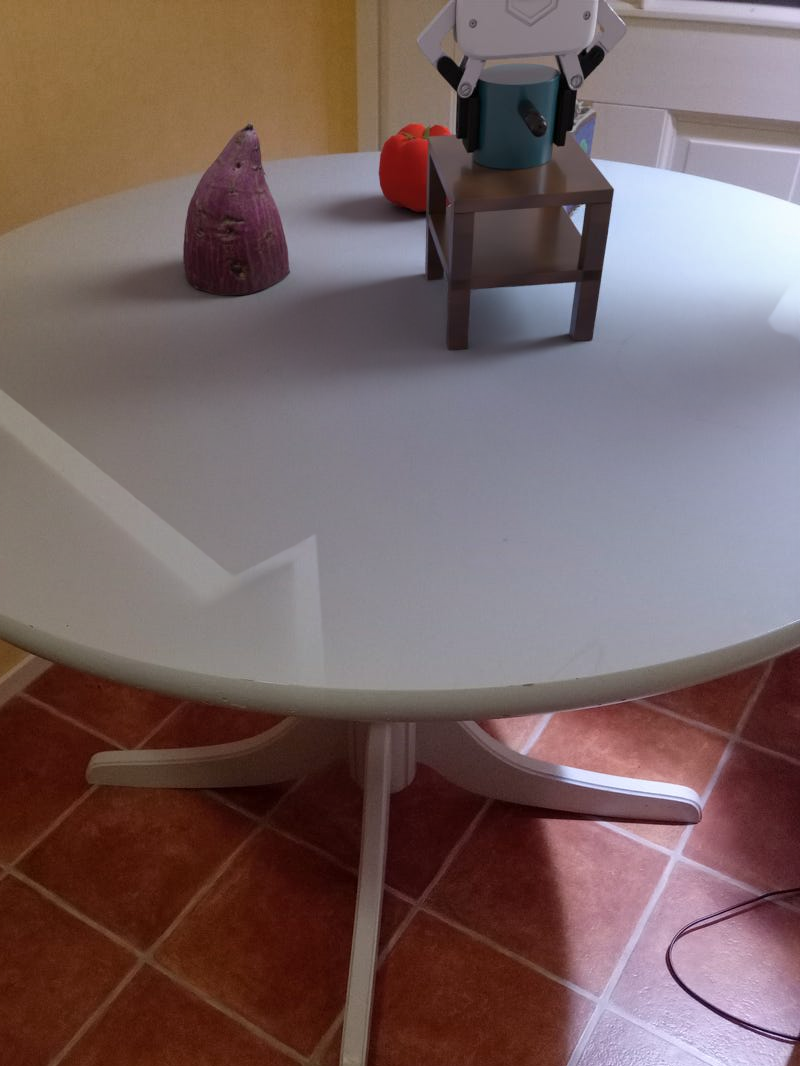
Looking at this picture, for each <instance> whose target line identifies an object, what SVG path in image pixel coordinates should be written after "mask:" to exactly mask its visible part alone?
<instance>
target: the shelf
mask: <svg viewBox="0 0 800 1066" xmlns="http://www.w3.org/2000/svg"><path fill="white" fill-rule="evenodd" d="M614 192H615V188H614V186H612V185H611V183H610V182H609V181H608V179H607V178H606V176H605V175H604V174H603V172H602V171H601V170H600V169H599V168H598V167H597V166H596V164H595V162H594V161H593V160H592V159H591V157H590V158H589V156H588V155H587V154H586V152H585V151H584V150H583V149H582V147H581V146H580V145H579V143H578V142H577V141H576V140H575V138H574V137H573V136H572V135H571V133H570V132H569V131H566V140H565V145H564V146H560V147H557V145H555V144H554V143H553V151H552V158H551V159H550V160H549V161H548V162H547V163H545V164H543V165H540V166H536V167H532V168H526V169H510V170H509V169H495V168H489V167H485V166H482V165H480V164H478V163H476V162H475V161H474V160H473V158H472V153H467V151H466V149H465V147H464V145H463V143H462V139H457V138H456V134H452V135H444V136H430V137H428V153H427V205H426V211H425V213H426V214H425V256H424V257H425V258H424V259H425V260H424V262H425V263H424V265H425V267H424V273H425V277H426V280H438V279H440V280H441V279H445V277H446V280H447V298H446V299H447V302H446V305H447V306H446V333H445V342H446V347H447V350H449V351H452V350H453V351H454V350H455V351H456V350H467V349H468V348H469V332H470V331H469V330H470V313H471V312H470V310H471V292H472V291H473V290H474V291H475V290H486V289H487V290H488V289H499V288H514V287H515V288H516V287H530V286H531V287H532V286H542V285H543V286H545V285H556V284H557V285H558V284H573V283H575V285H574V293H573V300H572V308H571V316H570V323H569V331H568V333H569V335H570V337H571V339H572V341H573V342H580V341H592V340H594V332H595V325H596V318H597V310H598V304H599V299H600V298H599V297H600V291H601V285H602V277H603V270H604V263H605V257H606V249H607V243H608V242H607V241H608V236H609V229H610V223H611V216H612V207H613V200H614V194H615V193H614ZM447 198H448V200H449V202H450V205H449V206H447V207H446V204H447ZM569 205H581V206H582V205H584V213H583V221H582V229H581V232H580V231H579V229H578V228H577V226H576V225H575V223H574V222H573V220H572V218H571V217H569V215H568V214H567V212H566V211H565V209H564V208H563V206H569Z"/></svg>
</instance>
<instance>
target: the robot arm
mask: <svg viewBox="0 0 800 1066" xmlns="http://www.w3.org/2000/svg"><path fill="white" fill-rule="evenodd" d="M597 24H598V25H599V31H598V32H597V34H596V35H595V32H596V27H597ZM627 29H628V28H627V26H626V24H625V22H624V21H623V20H622V19H621V17H620V16H619V15H618V14H617V13H616V11H615V10H614V9H613V8H612V7H611V6H610V4H609V3H608V2H607V1H606V0H448V2H446V4H445V5H444V6H443V7H442V8H441V9H440V10H439V12H437V14H436V15H435V16H434V18H432V20H431V21H430V22H429V23H428V24H427V26H426V27H425V28H423V30H422V31H421V32H420V34H418V36H417V38H416V46H417V48H418V50H419V51H420V53H422V54H423V56H424V57H425V58H426V60H427V61H429V63H430V64H431V65H432V66H433V67H434V68H435V69H436V71H437V72H438V74H439V75H441V76H442V78H443V79H444V80H445V81H446V82H447V83H448V84H449V85H450V87H451V88H452V89H453V90H454V91H455V92H456V107H455V109H456V110H455V135H456V138H457V139H462V143H463V145H464V147H465V149H466V151H467V153H474V151H476V150H477V134H478V116H479V98H478V96H477V95H476V83H477V81H478V79H479V76H480V74H481V72H482V70H483V69H484V67H485V65H486V63H487V61H494V60H495V61H496V60H508V59H510V60H511V59H524V58H537V57H538V58H539V57H550V56H551V57H552V56H554V59H555V61H556V62H555V63H556V66H557V70H558V71H559V72H560V82H559V92H558V102H557V111H556V121H555V131H554V141H553V143H554V144H555V145H557V147H560V146H564V145H565V140H566V131H572V129H573V123H574V114H575V105H576V99H577V96H578V90H580V89H581V88H582V87H583V85H584V83H585V80H586V79H587V78H588V77H589V76H590V75H591V74H592V73H593V72H595V70H596V69H597V68H598V67H599V65H600V64H602V62H603V61H604V59H605V57H606V56H607V54H608V53H610V52H611V51H612V50H613V49H614V48H615V47H616V45H617V44H618V43H619V42H620V41H621V40H622V39H623V37H624V36H625V35H626V33H627ZM451 30H452V35H453V40H454V42H455V43H456V44H457V46H458V49H459V50H460V51H461V53H462V55H461V59H460V61H459V63H458V64H457V63H456V62H455V60H453V59H452V57H451V56H450V55H449V54H448V52H446V50H444V49H443V47H442V41H443V39H444V38H445V37H446V36H447V35H448V34H449V32H450V31H451Z"/></svg>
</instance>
